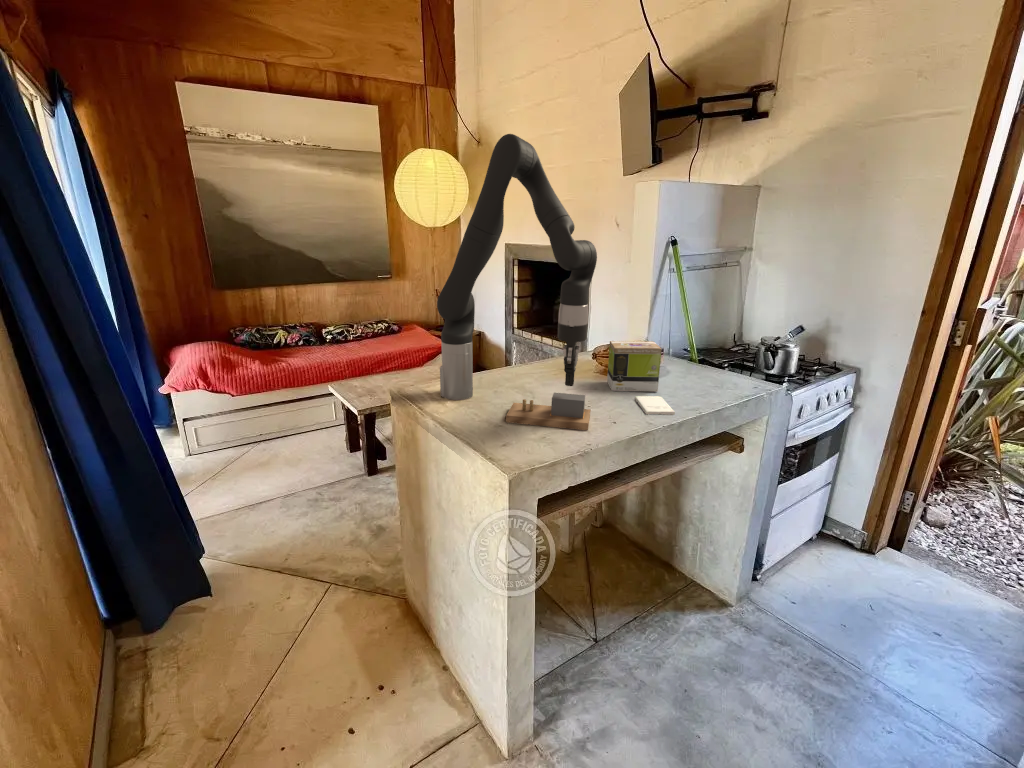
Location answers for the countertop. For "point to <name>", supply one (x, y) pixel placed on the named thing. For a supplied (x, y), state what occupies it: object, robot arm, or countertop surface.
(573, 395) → the block
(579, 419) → the board
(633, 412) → the countertop surface
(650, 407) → the external hard drive
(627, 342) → the tea box
